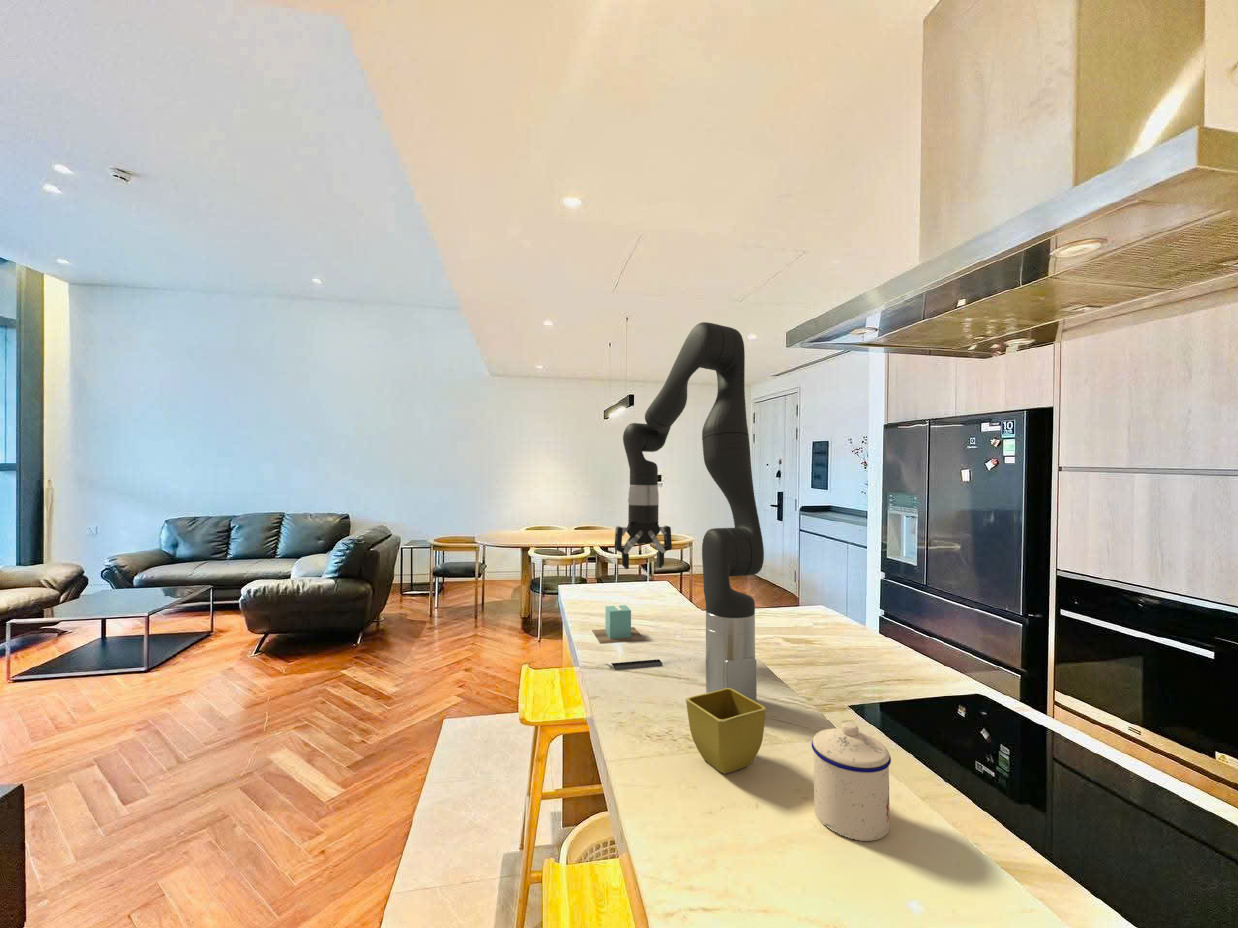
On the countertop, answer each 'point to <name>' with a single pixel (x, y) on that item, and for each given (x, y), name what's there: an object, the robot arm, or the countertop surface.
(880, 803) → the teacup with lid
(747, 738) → the flower pot
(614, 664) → the mat
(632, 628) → the post base
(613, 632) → the striped teal box
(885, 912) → the countertop surface
